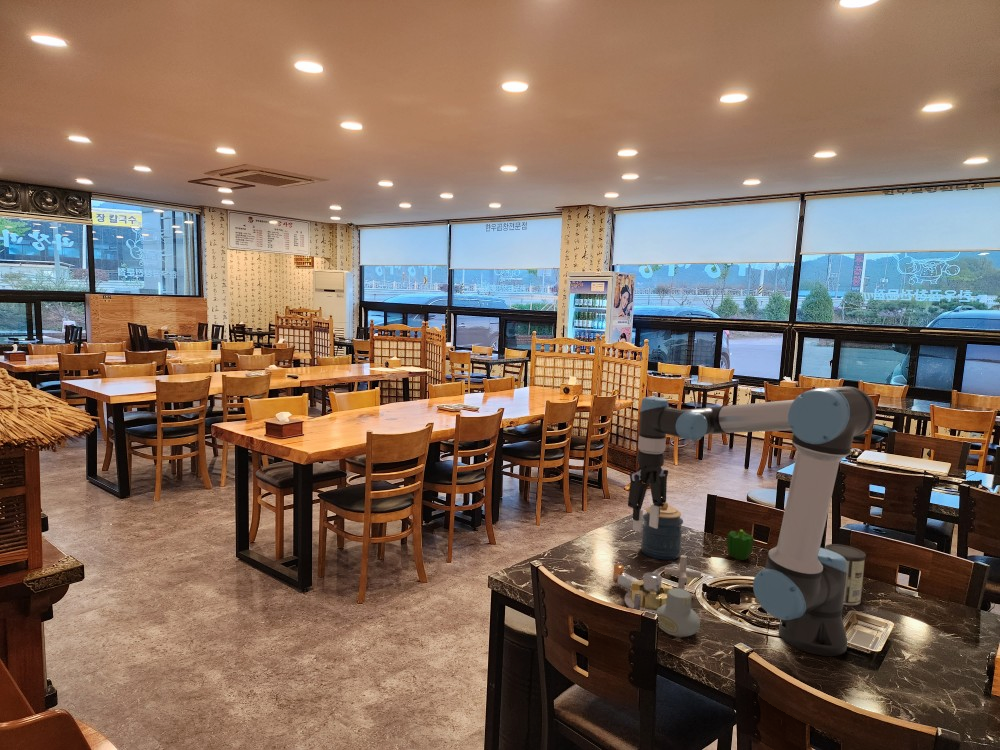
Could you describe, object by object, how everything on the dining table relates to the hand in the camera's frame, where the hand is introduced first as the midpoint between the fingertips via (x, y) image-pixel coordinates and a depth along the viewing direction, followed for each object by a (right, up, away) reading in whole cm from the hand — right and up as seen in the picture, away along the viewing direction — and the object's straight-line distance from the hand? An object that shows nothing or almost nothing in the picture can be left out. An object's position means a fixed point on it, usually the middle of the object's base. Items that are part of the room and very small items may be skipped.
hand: (645, 528), depth 178 cm
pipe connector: (+10, -18, 0) cm, 21 cm away
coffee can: (+56, -20, -1) cm, 60 cm away
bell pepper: (+37, -16, +26) cm, 48 cm away
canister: (+11, -15, +27) cm, 33 cm away
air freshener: (+2, -20, -24) cm, 31 cm away
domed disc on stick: (-3, -16, -7) cm, 18 cm away
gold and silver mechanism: (-4, -18, -12) cm, 22 cm away
